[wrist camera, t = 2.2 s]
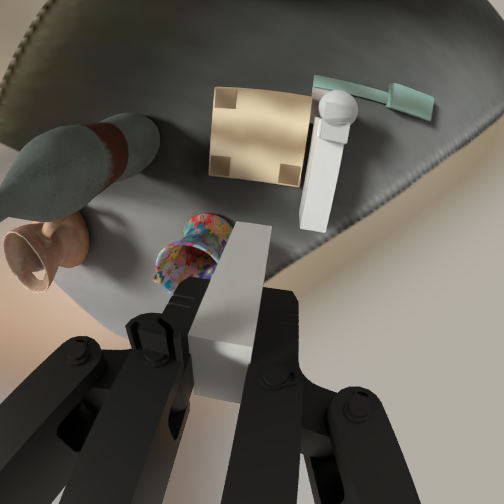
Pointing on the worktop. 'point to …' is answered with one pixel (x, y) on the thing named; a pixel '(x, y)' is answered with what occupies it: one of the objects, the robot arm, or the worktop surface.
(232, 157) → the stool seat
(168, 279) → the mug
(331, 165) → the hinged leg
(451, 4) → the worktop surface
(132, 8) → the worktop surface
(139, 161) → the bottle
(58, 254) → the ceramic jug
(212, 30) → the worktop surface
